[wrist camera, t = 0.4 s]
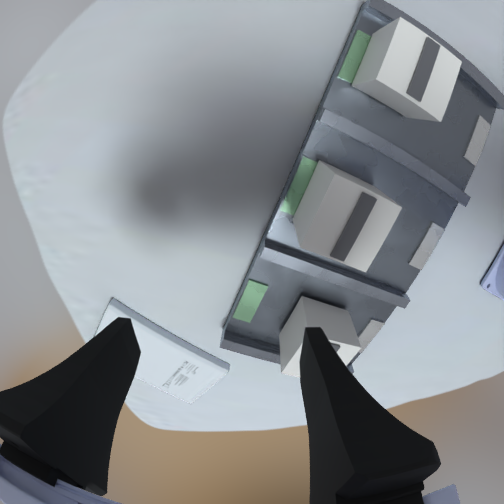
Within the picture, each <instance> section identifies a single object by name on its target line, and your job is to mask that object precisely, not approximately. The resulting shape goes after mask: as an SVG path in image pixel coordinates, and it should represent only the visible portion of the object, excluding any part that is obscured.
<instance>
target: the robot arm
mask: <svg viewBox="0 0 504 504" xmlns="http://www.w3.org/2000/svg"><path fill="white" fill-rule="evenodd" d="M481 287H482V288H483V289H485V290H486V291H488V292H490V293H492V294H493V295H495V296H497V297H499V298H500V299H502V300H504V244H503V246H502V248H501V250H500V252H499V254H498V255H497V257H496V259H495V261H494V262H493V264H492V266H491V267H490V269H489V271H488V272H487V274H486V276H485V277H484V279H483V280H482V282H481ZM140 355H141V350H140V347H139V344H138V341H137V338H136V335H135V331H134V328H133V325H132V321H131V318H123V317H118V318H116V319H115V320H114V321H112V322H111V323H110V324H109V325H108V326H106V327H105V328H104V329H103V330H102V331H101V332H99V333H98V334H97V335H96V336H95V337H93V338H92V339H91V340H90V341H89V342H88V343H86V344H85V345H84V346H83V347H81V348H80V349H79V350H77V352H75V353H74V354H72V355H71V356H70V357H69V358H67V359H66V360H64V361H63V362H61V363H60V364H59V365H57V366H55V367H54V368H52V369H51V370H49V371H47V372H45V373H43V374H41V375H40V376H38V377H36V378H34V379H32V380H30V381H28V382H26V383H23V384H21V385H18V386H16V387H13V388H11V389H7V390H4V391H1V392H0V438H1V439H3V440H4V442H3V444H2V445H1V444H0V500H1V501H2V502H3V503H4V504H121V503H118V502H115V501H112V500H109V499H106V498H103V497H100V496H103V495H105V494H106V493H107V482H108V468H109V460H110V453H111V447H112V442H113V437H114V432H115V428H116V424H117V420H118V417H119V414H120V411H121V408H122V406H123V403H124V401H125V398H126V396H127V393H128V391H129V388H130V386H131V383H132V381H133V378H134V376H135V373H136V370H137V366H138V363H139V359H140ZM299 364H300V383H301V389H302V395H303V401H304V407H305V413H306V419H307V425H308V433H309V449H310V504H460V501H459V497H458V493H457V489H456V486H455V485H454V484H452V485H450V486H448V487H445V488H443V489H440V490H437V491H435V492H432V493H430V494H427V495H425V496H423V497H422V493H421V491H422V490H424V484H423V481H424V480H425V479H426V478H427V477H429V476H430V475H431V474H433V473H434V472H435V471H436V470H437V469H438V468H439V467H440V465H441V462H440V459H439V456H438V452H437V450H436V448H435V445H434V443H433V442H432V441H430V440H429V439H427V438H425V437H423V436H422V435H420V434H418V433H417V432H415V431H413V430H412V429H410V428H409V427H407V426H406V425H404V424H403V423H401V422H400V421H399V420H398V419H396V418H395V417H394V416H393V415H392V414H390V413H389V412H388V411H387V410H386V409H384V408H383V407H382V406H381V405H380V404H379V403H378V402H377V401H376V400H375V399H374V398H373V397H372V396H371V395H370V394H369V393H368V392H367V391H366V390H365V389H364V388H363V386H362V385H361V384H360V383H359V382H358V381H357V379H356V378H355V377H354V376H353V374H352V373H351V372H350V371H349V369H348V368H347V367H346V365H345V364H344V362H343V361H342V360H341V358H340V357H339V355H338V354H337V352H336V351H335V349H334V348H333V346H332V345H331V343H330V341H329V340H328V338H327V336H326V335H325V333H324V331H323V329H322V328H321V327H305V331H304V338H303V344H302V349H301V355H300V361H299ZM77 487H78V488H77ZM82 489H83V490H82ZM85 490H86V491H85ZM87 491H88V492H87ZM90 492H91V493H90ZM92 493H93V494H92ZM95 494H96V495H95ZM98 495H99V496H98Z"/></svg>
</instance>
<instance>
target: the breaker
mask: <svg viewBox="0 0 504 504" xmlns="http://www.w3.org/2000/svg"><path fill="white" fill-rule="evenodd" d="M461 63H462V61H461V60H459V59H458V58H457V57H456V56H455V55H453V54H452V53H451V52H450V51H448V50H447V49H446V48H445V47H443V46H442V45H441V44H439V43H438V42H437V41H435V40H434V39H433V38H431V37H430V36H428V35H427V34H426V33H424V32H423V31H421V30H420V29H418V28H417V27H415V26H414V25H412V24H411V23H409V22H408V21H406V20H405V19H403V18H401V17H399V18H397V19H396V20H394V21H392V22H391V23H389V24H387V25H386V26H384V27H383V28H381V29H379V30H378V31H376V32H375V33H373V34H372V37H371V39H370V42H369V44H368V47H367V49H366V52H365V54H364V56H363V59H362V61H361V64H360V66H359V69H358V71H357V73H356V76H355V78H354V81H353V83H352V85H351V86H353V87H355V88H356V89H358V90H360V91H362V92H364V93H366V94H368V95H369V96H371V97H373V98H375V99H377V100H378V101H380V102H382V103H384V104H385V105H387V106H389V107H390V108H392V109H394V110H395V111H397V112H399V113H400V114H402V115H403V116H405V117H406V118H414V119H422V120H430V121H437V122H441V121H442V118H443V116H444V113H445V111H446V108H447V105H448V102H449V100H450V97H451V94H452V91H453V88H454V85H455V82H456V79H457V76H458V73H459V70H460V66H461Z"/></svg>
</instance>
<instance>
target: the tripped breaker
mask: <svg viewBox="0 0 504 504" xmlns="http://www.w3.org/2000/svg"><path fill="white" fill-rule="evenodd" d="M305 327H321V328H322V329H323V331H324V333H325V335H326V336H327V338H328V340H329V341H330V343H331V345H332V346H333V348H334V349H335V351H336V352H337V354H338V355H339V357H340V358H341V360H342V361H343V362H344V364H345V365H346V366H347V365H348V363H349V362H350V361H351V360H352V359H353V357H354V356H355V355H356V354H357V353H358V351H359V350H360V349H361V345H360V342H359V339H358V336H357V333H356V331H355V328H354V325H353V322H352V319H351V316H350V314H349V311H347V310H344V309H341V308H338V307H335V306H332V305H328V304H325V303H322V302H319V301H316V300H313V299H310V298H307V297H304V296H302V297H301V298H300V300H299V302H298V304H297V305H296V307H295V309H294V310H293V312H292V314H291V316H290V317H289V319H288V321H287V322H286V324H285V326H284V327H283V329H282V331H281V332H280V334H279V341H280V361H281V373H282V374H286V375H290V376H295V377H299V378H300V364H299V361H300V355H301V349H302V344H303V338H304V331H305Z"/></svg>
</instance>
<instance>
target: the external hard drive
mask: <svg viewBox="0 0 504 504" xmlns="http://www.w3.org/2000/svg"><path fill="white" fill-rule="evenodd" d="M118 317H123V318H131V321H132V325H133V328H134V331H135V335H136V338H137V341H138V344H139V347H140V350H141V355H140V359H139V363H138V366H137V370H136V373H135V376H134V377H136V378H138V379H139V380H141V381H143V382H145V383H147V384H149V385H151V386H153V387H155V388H157V389H159V390H161V391H163V392H165V393H167V394H169V395H172V396H174V397H176V398H178V399H180V400H182V401H184V402H187V403H189V404H192V403H193V402H194V401H196V400H197V399H198V398H199V397H200V396H202V395H203V394H204V393H205V392H206V391H208V390H209V389H210V388H211V387H212V386H214V385H215V384H216V383H217V382H218V381H220V380H221V379H222V378H223V377H224V376H225V375H226V374H227V373H228V372H229V368H230V364H228V363H226V362H224V361H222V360H220V359H218V358H216V357H214V356H212V355H210V354H208V353H206V352H204V351H202V350H201V349H199V348H197V347H195V346H193V345H191V344H189V343H188V342H186V341H184V340H182V339H180V338H179V337H177V336H175V335H173V334H172V333H170V332H168V331H166V330H164V329H163V328H161V327H159V326H158V325H156V324H154V323H153V322H151V321H149V320H148V319H146V318H144V317H143V316H141V315H139V314H138V313H136V312H135V311H133V310H131V309H130V308H128V307H127V306H125V305H124V304H122V303H120V302H119V301H117V300H116V299H114V298H112V300H111V301H110V303H109V305H108V307H107V309H106V311H105V313H104V316H103V318H102V320H101V323H100V325H99V327H98V330H97V332H96V334H95V336H96V335H97V334H98V333H99V332H101V331H102V330H103V329H104V328H105V327H106V326H108V325H109V324H110V323H111V322H112V321H114V320H115V319H116V318H118Z"/></svg>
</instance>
